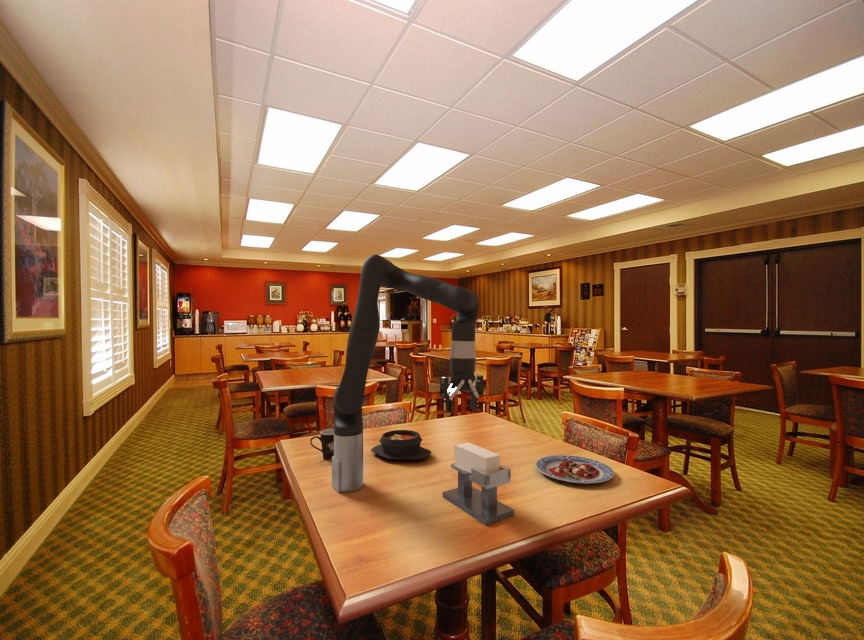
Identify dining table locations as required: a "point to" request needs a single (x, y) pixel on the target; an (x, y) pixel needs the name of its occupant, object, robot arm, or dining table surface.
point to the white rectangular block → (476, 458)
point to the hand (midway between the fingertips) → (461, 411)
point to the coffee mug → (326, 443)
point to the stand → (480, 494)
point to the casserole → (401, 446)
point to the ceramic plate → (574, 469)
